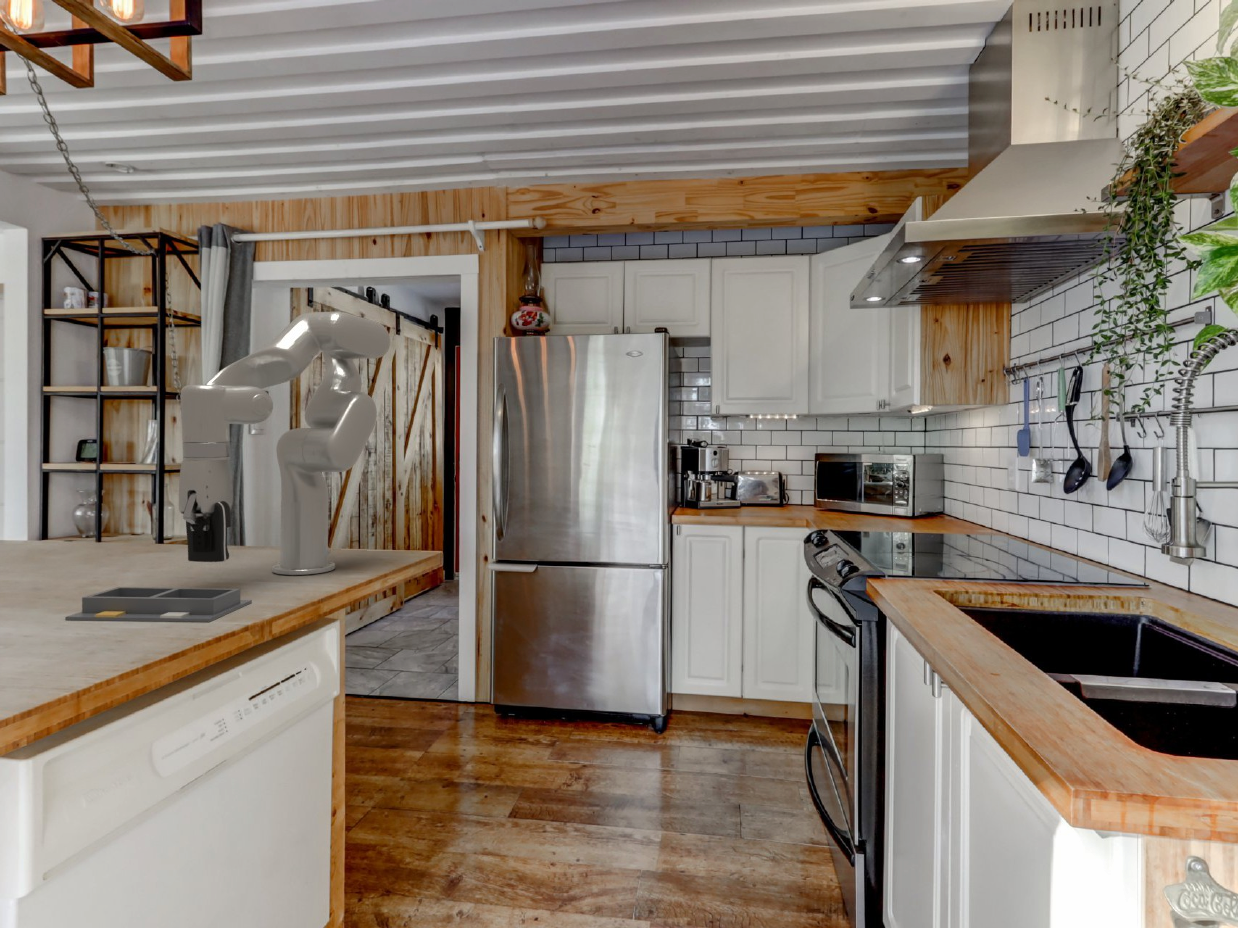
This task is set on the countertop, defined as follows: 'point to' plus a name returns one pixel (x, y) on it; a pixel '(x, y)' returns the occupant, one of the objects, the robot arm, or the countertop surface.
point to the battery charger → (213, 535)
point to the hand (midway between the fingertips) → (210, 548)
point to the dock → (160, 604)
